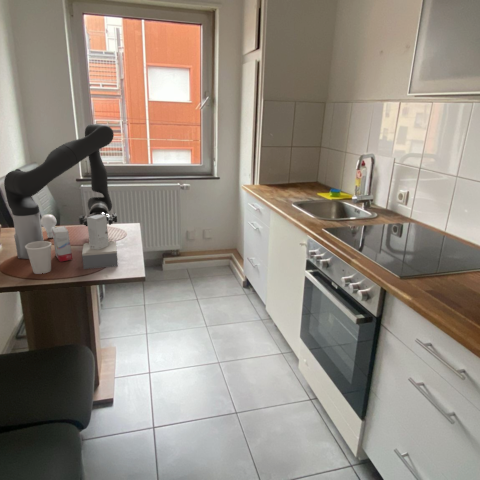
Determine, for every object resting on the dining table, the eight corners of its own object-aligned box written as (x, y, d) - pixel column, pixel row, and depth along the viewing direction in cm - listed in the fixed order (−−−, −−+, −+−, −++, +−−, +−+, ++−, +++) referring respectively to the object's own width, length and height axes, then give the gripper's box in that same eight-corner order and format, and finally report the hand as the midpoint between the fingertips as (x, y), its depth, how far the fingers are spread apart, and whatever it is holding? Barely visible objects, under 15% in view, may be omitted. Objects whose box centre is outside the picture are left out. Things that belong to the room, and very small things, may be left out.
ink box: (72, 260, 147) (69, 231, 144) (58, 262, 145) (54, 233, 141) (68, 253, 154) (65, 225, 150) (54, 255, 151) (51, 227, 148)
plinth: (83, 269, 139) (81, 253, 137) (85, 257, 150) (83, 243, 148) (117, 266, 143) (116, 251, 141) (117, 255, 154) (115, 241, 152)
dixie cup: (35, 266, 140) (31, 240, 137) (58, 266, 141) (55, 240, 138) (24, 275, 132) (20, 248, 129) (49, 275, 133) (45, 248, 130)
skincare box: (98, 250, 141) (95, 218, 137) (89, 248, 143) (85, 217, 139) (109, 245, 147) (107, 215, 143) (100, 243, 148) (97, 213, 144)
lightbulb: (39, 239, 170) (36, 215, 167) (50, 235, 176) (47, 212, 172) (51, 240, 168) (47, 216, 165) (61, 236, 174) (58, 213, 171)
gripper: (80, 205, 158) (77, 214, 144) (116, 203, 163) (116, 212, 148) (82, 222, 161) (79, 233, 146) (117, 220, 165) (118, 231, 150)
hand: (98, 223), depth 147 cm, fingers open, 8 cm apart
